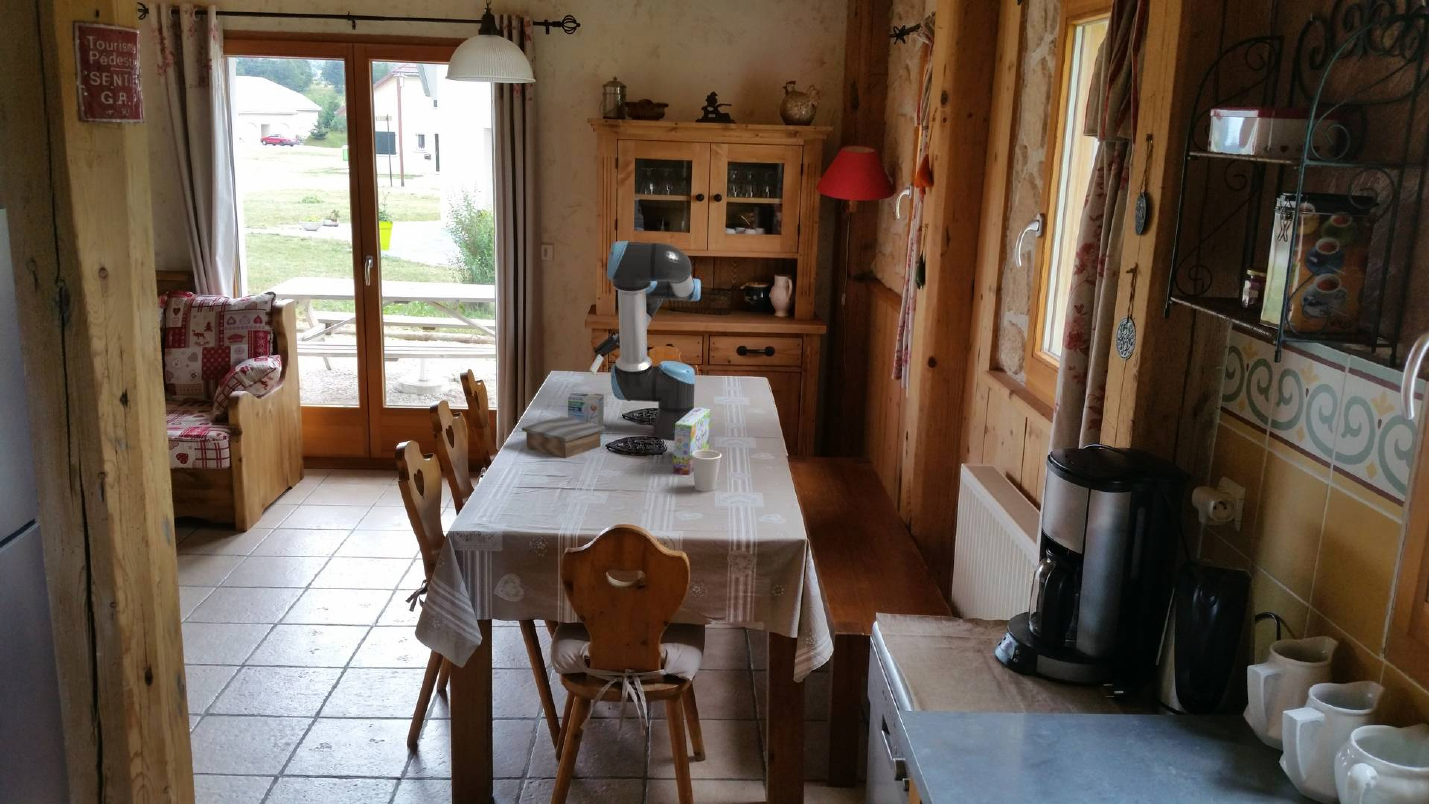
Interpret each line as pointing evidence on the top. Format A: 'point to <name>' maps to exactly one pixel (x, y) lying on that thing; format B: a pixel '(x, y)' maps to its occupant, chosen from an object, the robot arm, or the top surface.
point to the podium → (563, 436)
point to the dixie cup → (705, 469)
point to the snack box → (690, 438)
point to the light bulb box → (586, 407)
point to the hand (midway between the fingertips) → (607, 375)
